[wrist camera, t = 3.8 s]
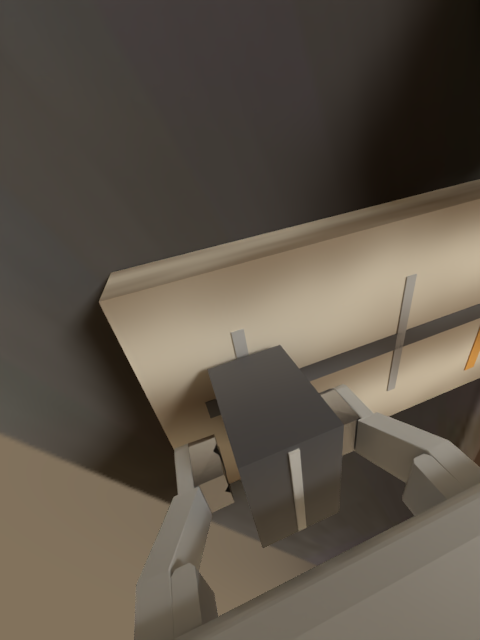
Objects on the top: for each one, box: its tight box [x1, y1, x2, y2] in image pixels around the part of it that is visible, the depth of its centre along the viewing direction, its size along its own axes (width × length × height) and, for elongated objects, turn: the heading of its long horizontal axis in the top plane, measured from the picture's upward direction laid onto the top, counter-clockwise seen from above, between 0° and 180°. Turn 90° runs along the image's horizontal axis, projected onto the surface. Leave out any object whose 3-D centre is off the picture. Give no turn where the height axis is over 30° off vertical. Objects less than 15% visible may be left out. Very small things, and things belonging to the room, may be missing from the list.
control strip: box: [99, 179, 480, 484], centre depth 14 cm, size 12×24×3 cm, turn 101°
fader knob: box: [207, 345, 344, 548], centre depth 10 cm, size 5×3×4 cm, turn 11°
